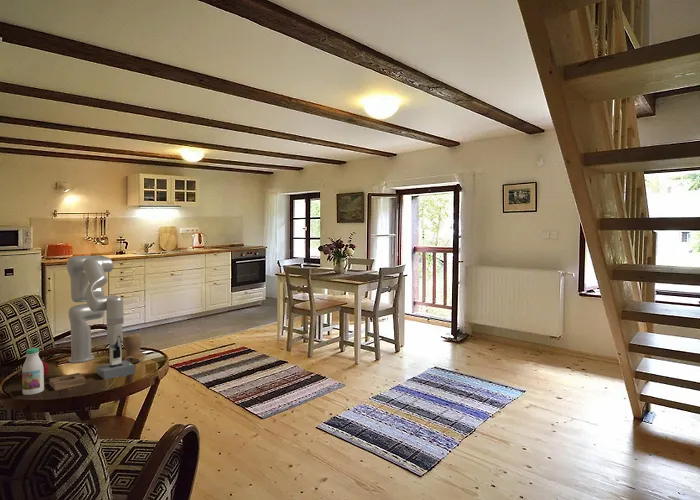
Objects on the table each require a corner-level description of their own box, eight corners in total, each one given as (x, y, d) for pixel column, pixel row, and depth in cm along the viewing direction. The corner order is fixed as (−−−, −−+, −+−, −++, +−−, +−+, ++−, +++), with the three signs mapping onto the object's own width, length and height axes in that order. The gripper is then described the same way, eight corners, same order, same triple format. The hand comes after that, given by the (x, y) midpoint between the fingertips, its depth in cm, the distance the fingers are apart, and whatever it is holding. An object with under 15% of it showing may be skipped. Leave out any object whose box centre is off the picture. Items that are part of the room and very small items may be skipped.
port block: (96, 374, 209) (96, 365, 208) (126, 368, 219) (126, 359, 219) (104, 380, 200) (104, 370, 200) (134, 373, 211) (134, 364, 211)
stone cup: (126, 356, 240) (126, 331, 239) (148, 355, 242) (147, 330, 242) (117, 364, 225) (116, 337, 224) (140, 363, 227) (140, 336, 227)
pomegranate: (42, 372, 213) (42, 354, 213) (53, 374, 209) (53, 356, 209) (20, 377, 204) (20, 359, 204) (31, 380, 200) (31, 361, 200)
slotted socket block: (49, 385, 194) (49, 379, 194) (78, 378, 203) (78, 372, 203) (55, 391, 186) (55, 385, 186) (85, 384, 195) (85, 378, 194)
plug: (109, 364, 209) (109, 343, 208) (119, 361, 212) (119, 341, 212) (111, 365, 207) (111, 344, 206) (121, 363, 210) (121, 342, 210)
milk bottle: (30, 389, 188) (29, 346, 188) (48, 389, 189) (47, 346, 188) (18, 396, 181) (17, 351, 180) (36, 395, 181) (35, 351, 180)
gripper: (101, 320, 212) (102, 355, 212) (112, 324, 201) (113, 362, 201) (117, 318, 217) (118, 352, 218) (128, 322, 206) (129, 358, 207)
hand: (115, 356), depth 209 cm, fingers closed on plug, 3 cm apart
